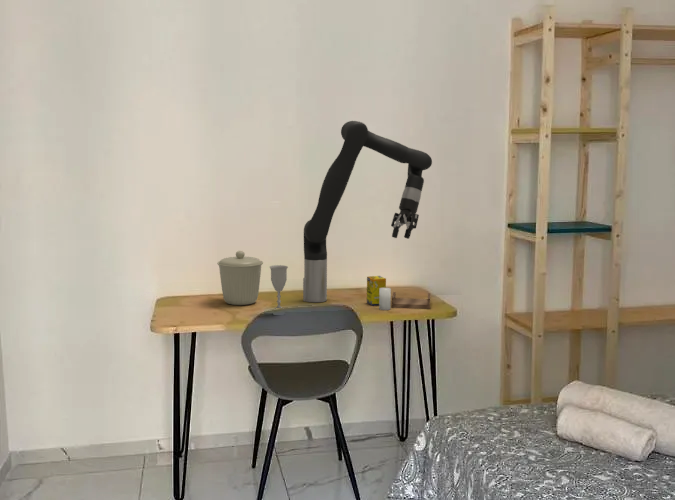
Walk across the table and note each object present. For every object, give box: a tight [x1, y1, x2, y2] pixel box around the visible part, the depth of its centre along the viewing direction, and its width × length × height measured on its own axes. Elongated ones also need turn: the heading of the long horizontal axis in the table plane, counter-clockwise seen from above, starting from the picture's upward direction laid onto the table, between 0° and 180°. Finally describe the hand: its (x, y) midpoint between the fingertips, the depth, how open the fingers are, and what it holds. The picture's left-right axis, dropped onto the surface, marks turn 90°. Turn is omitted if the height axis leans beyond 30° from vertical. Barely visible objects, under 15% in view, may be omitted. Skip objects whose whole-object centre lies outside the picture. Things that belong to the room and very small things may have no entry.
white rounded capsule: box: [378, 287, 392, 311], centre depth 295 cm, size 4×4×8 cm
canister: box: [217, 250, 264, 306], centre depth 303 cm, size 18×18×21 cm
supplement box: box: [366, 275, 387, 307], centre depth 303 cm, size 6×6×11 cm
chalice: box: [269, 264, 289, 309], centre depth 285 cm, size 7×7×18 cm
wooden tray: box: [391, 291, 431, 310], centre depth 302 cm, size 15×11×4 cm
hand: (400, 237), depth 310 cm, fingers open, 8 cm apart
